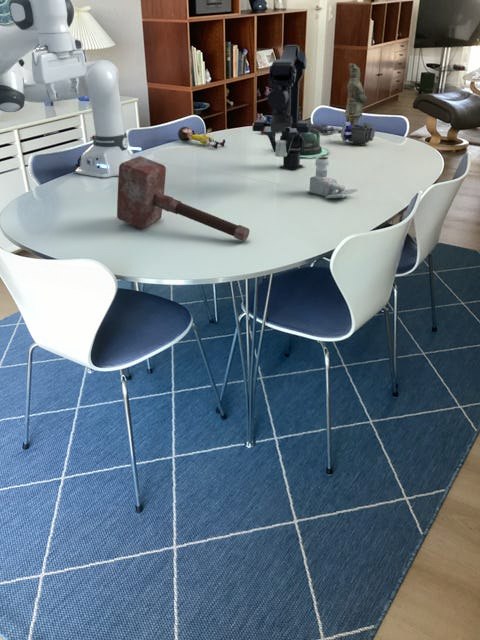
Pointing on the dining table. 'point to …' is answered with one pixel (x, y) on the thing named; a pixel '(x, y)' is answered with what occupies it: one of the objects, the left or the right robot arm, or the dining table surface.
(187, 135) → the figurine
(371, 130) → the toy
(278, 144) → the can
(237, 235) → the sledgehammer
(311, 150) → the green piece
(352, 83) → the statue
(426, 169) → the dining table surface
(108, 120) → the left robot arm
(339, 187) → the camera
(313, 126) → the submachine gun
